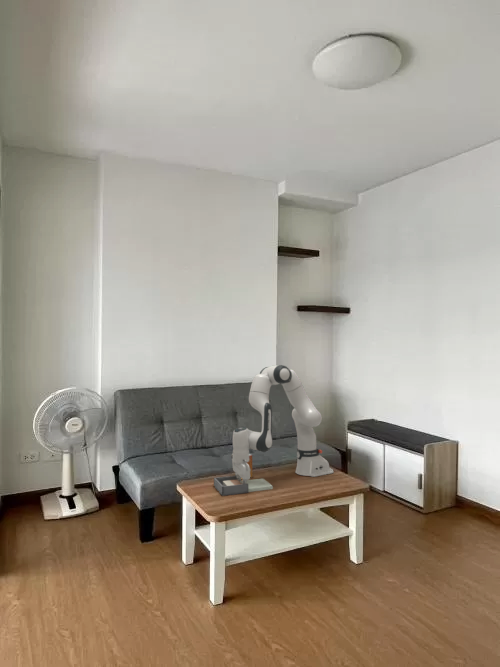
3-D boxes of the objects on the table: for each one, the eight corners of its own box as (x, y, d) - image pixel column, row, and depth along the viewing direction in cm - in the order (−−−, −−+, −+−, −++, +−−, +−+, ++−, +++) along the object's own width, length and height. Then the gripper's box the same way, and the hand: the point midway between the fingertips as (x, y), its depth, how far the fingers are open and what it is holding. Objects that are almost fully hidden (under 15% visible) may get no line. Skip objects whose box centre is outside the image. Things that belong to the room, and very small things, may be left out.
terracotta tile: (236, 484, 256) (236, 479, 257) (243, 490, 245) (243, 485, 245) (229, 484, 255) (229, 480, 255) (236, 491, 244) (236, 486, 244)
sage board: (263, 481, 263) (262, 478, 263) (272, 489, 249) (272, 485, 249) (239, 484, 258) (239, 481, 258) (247, 492, 244) (247, 488, 244)
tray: (238, 483, 260) (238, 475, 260) (248, 492, 243) (248, 483, 243) (213, 486, 255) (213, 477, 255) (222, 496, 239) (222, 486, 239)
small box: (241, 479, 267) (240, 456, 267) (235, 477, 272) (234, 454, 272) (252, 477, 271) (252, 454, 271) (246, 474, 276) (246, 452, 277)
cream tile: (229, 484, 255) (229, 480, 255) (236, 491, 244) (236, 486, 244) (222, 485, 254) (222, 481, 254) (228, 492, 243) (228, 487, 243)
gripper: (252, 461, 242) (253, 488, 242) (241, 453, 262) (241, 478, 262) (241, 463, 240) (241, 490, 240) (230, 454, 260) (230, 479, 260)
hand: (241, 483), depth 251 cm, fingers open, 8 cm apart
